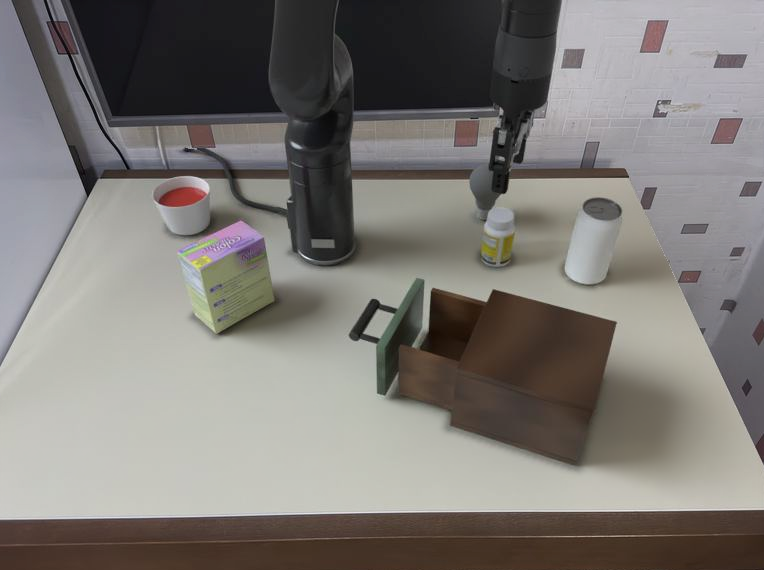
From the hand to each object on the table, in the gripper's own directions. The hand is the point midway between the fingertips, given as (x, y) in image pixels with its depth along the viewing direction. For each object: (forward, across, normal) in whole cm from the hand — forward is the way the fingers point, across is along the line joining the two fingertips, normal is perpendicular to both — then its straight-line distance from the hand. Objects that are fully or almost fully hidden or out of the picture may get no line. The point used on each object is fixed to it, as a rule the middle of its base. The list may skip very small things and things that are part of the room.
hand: (507, 176), depth 97 cm
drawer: (+14, +27, -2) cm, 30 cm away
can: (+15, -2, +14) cm, 21 cm away
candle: (+15, +11, -50) cm, 53 cm away
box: (+15, +26, -32) cm, 44 cm away
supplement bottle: (+15, 0, 0) cm, 15 cm away
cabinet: (+15, +27, +12) cm, 33 cm away
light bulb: (+15, -10, -5) cm, 19 cm away
